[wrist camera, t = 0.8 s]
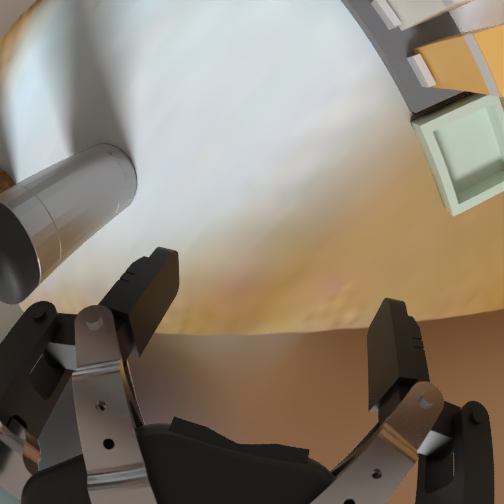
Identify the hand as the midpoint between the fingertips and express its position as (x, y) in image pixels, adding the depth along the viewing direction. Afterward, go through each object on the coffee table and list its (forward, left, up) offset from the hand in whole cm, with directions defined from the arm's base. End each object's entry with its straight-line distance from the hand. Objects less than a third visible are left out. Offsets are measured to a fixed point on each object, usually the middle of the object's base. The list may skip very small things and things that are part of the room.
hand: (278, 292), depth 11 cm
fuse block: (+17, +9, -22) cm, 29 cm away
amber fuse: (+17, +3, -20) cm, 26 cm away
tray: (+17, -7, -22) cm, 28 cm away
